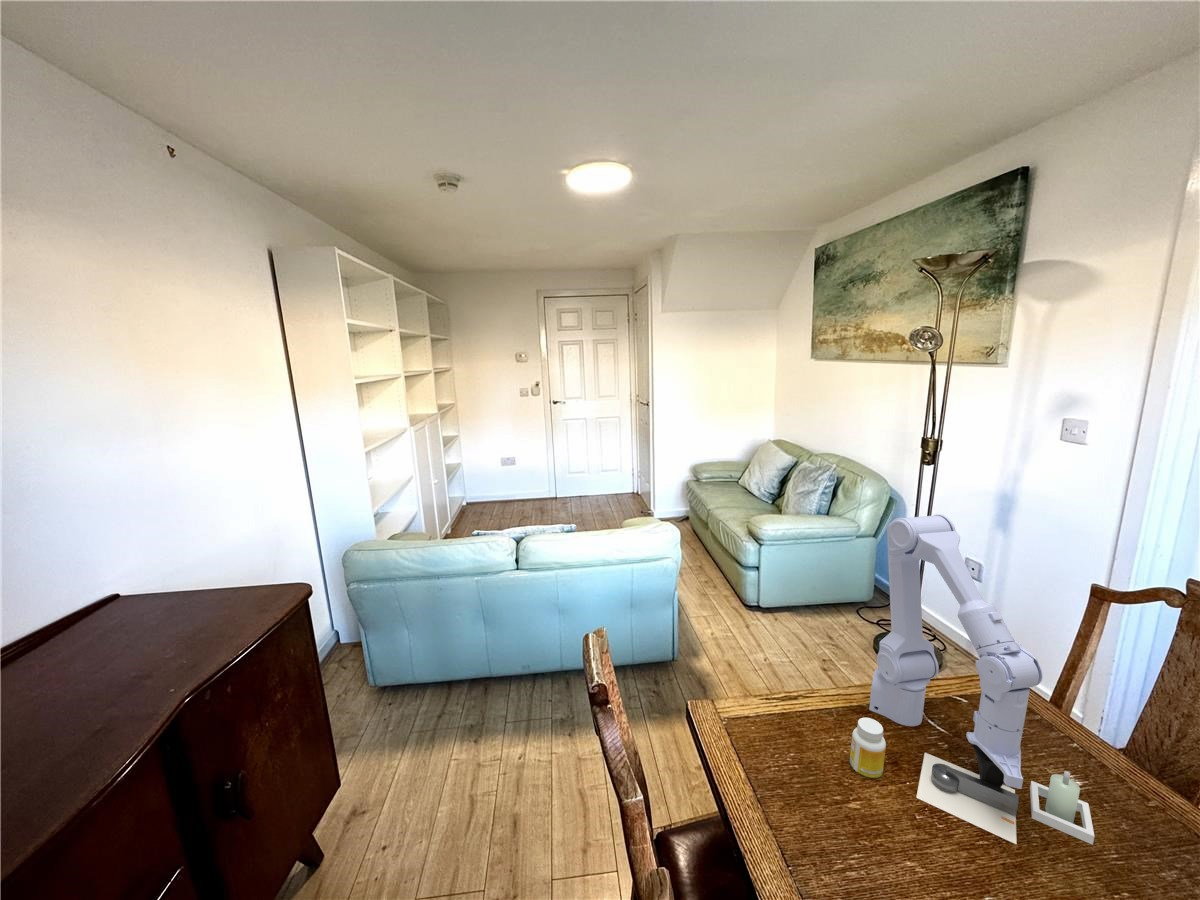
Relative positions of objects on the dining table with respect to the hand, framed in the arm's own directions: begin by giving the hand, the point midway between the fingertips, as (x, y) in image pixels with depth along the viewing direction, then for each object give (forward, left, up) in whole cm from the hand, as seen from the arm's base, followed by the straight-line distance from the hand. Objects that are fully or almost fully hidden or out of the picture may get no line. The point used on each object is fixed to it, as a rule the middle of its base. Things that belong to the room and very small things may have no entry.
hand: (989, 788), depth 82 cm
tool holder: (+9, +2, -2) cm, 10 cm away
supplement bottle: (-17, -6, -2) cm, 19 cm away
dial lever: (-2, -2, -1) cm, 3 cm away
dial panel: (-3, -2, -2) cm, 4 cm away
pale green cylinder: (+9, +2, -2) cm, 10 cm away
